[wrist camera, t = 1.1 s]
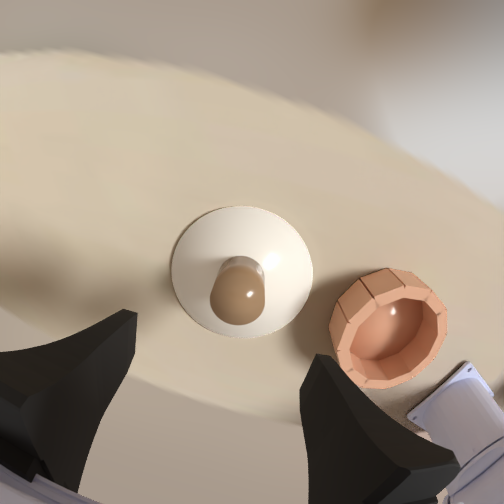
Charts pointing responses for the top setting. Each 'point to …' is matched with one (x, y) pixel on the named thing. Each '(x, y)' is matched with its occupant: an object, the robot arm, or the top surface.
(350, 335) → the bowl
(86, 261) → the top surface
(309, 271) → the lid
